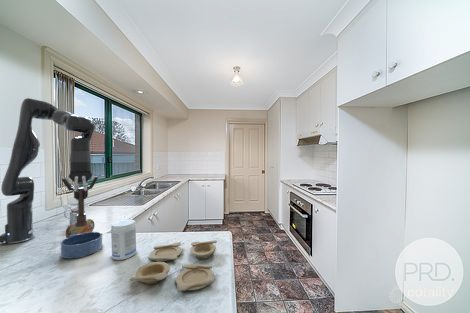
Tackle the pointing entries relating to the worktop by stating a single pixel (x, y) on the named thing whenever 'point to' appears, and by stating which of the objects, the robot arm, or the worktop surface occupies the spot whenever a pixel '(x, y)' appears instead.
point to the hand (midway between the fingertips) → (81, 198)
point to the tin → (79, 228)
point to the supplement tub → (123, 239)
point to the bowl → (81, 244)
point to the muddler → (80, 210)
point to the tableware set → (187, 278)
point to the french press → (73, 216)
